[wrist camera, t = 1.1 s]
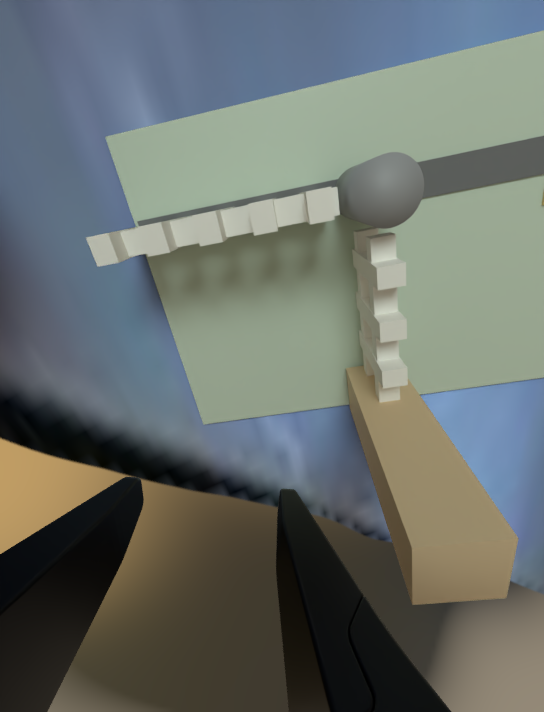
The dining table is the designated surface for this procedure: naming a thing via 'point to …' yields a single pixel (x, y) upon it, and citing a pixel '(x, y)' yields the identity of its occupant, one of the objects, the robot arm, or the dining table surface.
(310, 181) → the mat
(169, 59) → the dining table surface
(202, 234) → the fixed fence
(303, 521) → the robot arm
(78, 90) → the dining table surface
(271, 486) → the dining table surface
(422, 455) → the gate
